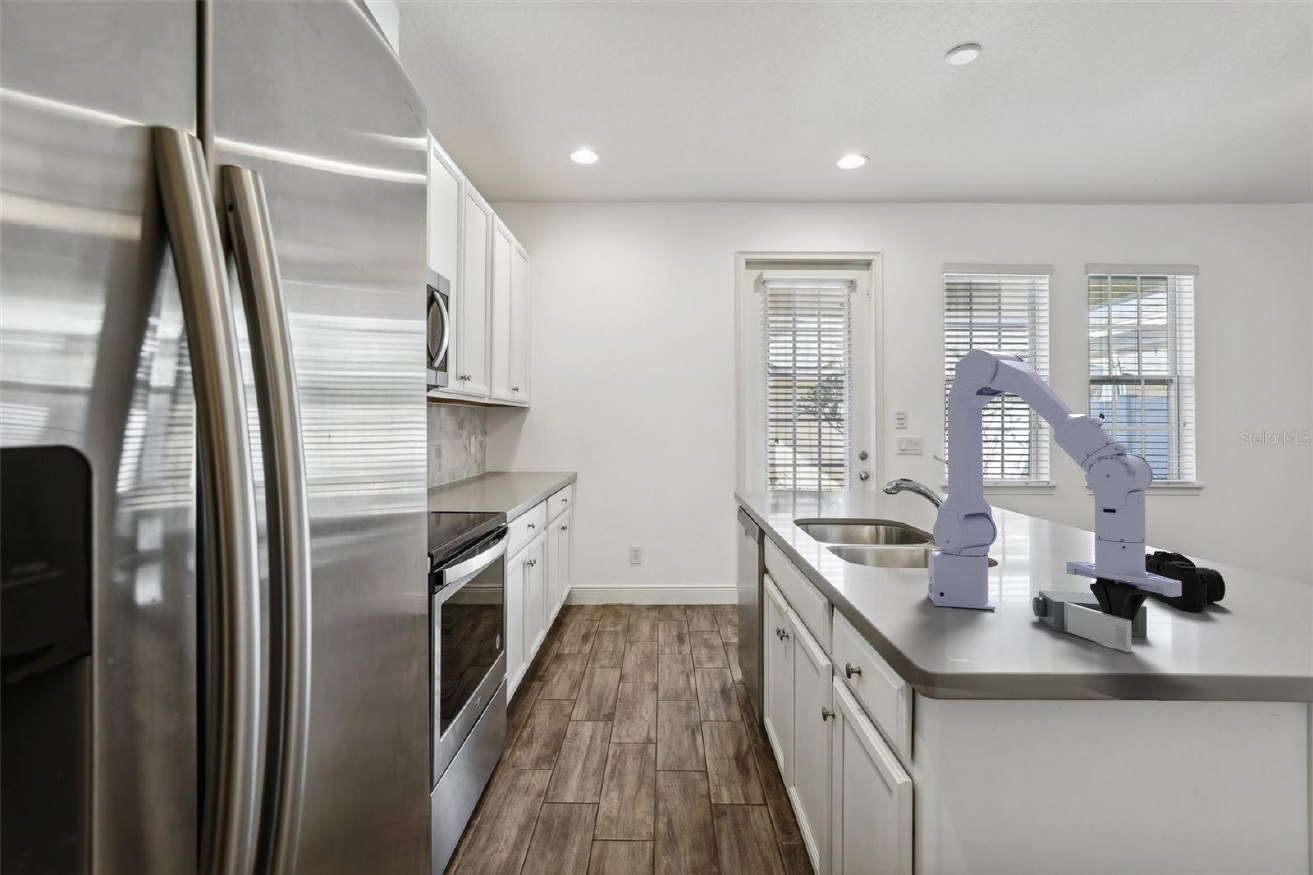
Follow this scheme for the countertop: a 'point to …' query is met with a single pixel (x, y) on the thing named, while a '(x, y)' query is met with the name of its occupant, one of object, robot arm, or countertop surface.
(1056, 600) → the grey box
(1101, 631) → the side door
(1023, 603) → the countertop surface
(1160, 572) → the film camera
